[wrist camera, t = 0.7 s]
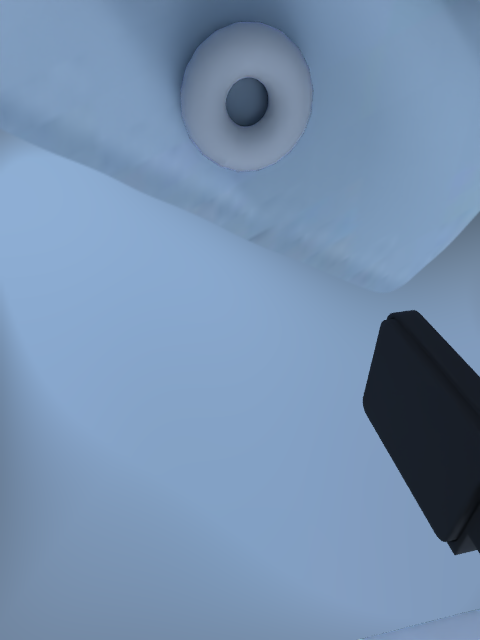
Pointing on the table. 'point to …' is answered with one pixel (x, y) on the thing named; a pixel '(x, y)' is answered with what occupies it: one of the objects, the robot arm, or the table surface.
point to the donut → (223, 72)
